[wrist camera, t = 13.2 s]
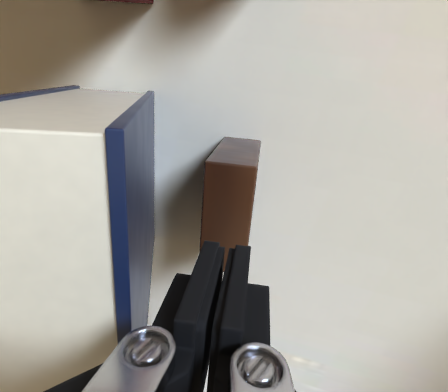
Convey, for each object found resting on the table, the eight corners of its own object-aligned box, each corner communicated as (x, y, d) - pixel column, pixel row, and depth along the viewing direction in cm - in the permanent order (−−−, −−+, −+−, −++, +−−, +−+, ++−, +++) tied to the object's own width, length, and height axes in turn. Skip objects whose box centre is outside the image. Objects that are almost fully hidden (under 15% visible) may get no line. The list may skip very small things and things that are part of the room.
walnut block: (261, 140, 20) (257, 166, 14) (251, 220, 23) (244, 275, 16) (224, 136, 21) (204, 161, 14) (217, 216, 23) (198, 269, 16)
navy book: (123, 128, 6) (-169, 114, 6) (136, 453, 10) (-33, 477, 9) (154, 91, 20) (71, 85, 19) (154, 237, 24) (86, 238, 23)
